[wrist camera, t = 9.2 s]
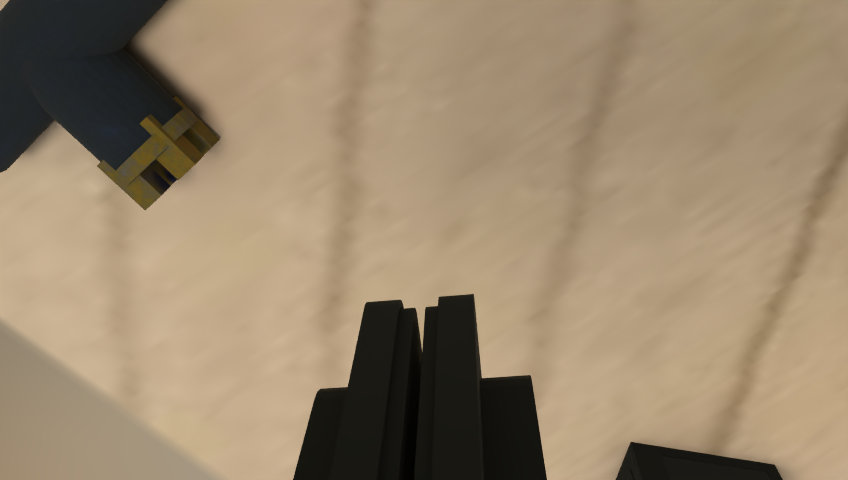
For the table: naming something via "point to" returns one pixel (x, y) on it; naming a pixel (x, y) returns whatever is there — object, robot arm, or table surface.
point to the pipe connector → (94, 92)
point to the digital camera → (689, 466)
